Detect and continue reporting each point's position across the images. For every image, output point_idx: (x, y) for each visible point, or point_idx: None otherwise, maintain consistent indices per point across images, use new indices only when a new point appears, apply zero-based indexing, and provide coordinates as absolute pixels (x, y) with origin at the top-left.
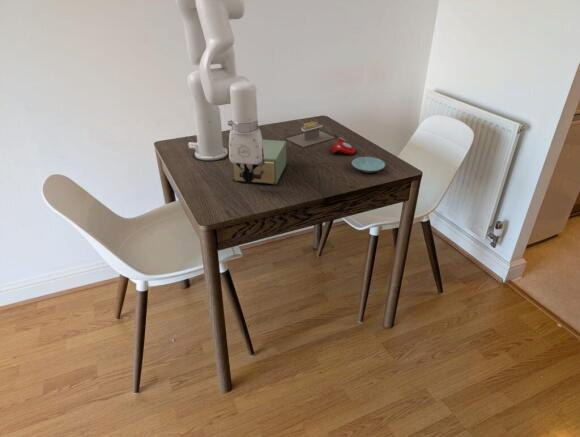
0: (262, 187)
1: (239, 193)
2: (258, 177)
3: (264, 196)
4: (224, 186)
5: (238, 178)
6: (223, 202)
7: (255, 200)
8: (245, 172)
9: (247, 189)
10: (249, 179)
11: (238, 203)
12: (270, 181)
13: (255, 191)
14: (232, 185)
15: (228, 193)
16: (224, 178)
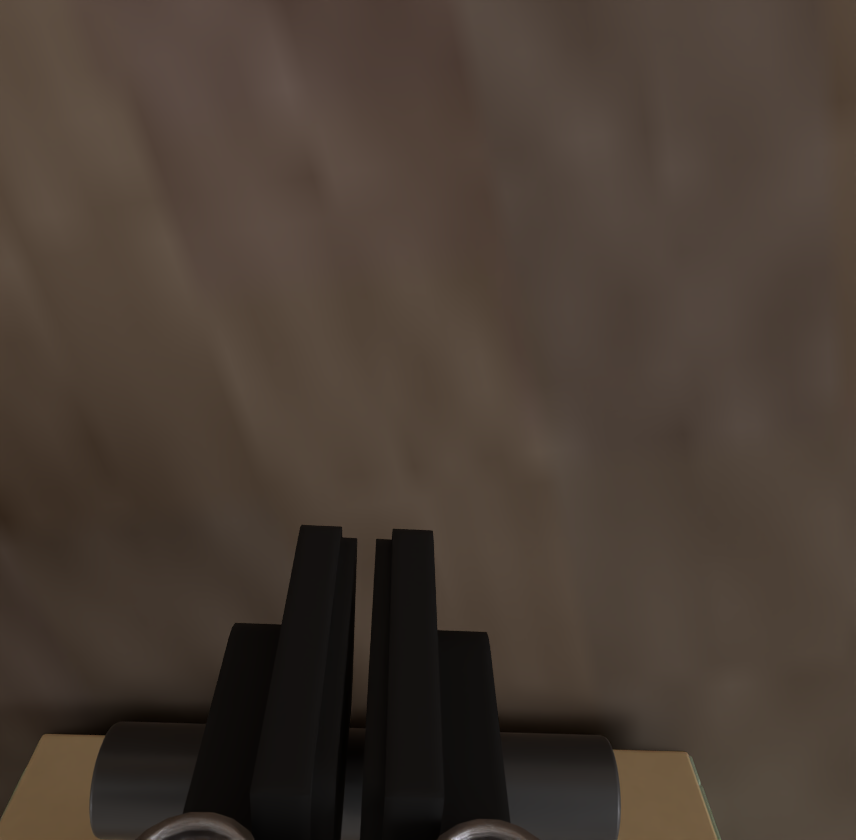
0: (216, 641)
1: (552, 418)
2: (145, 743)
3: (64, 375)
4: (840, 598)
5: (638, 778)
6: (838, 6)
7: (173, 199)
8: (388, 784)
9: (440, 558)
10: (288, 599)
11: (494, 8)
12: (85, 760)
13: (287, 516)
14: (710, 639)
15: (756, 393)
16: (848, 789)
